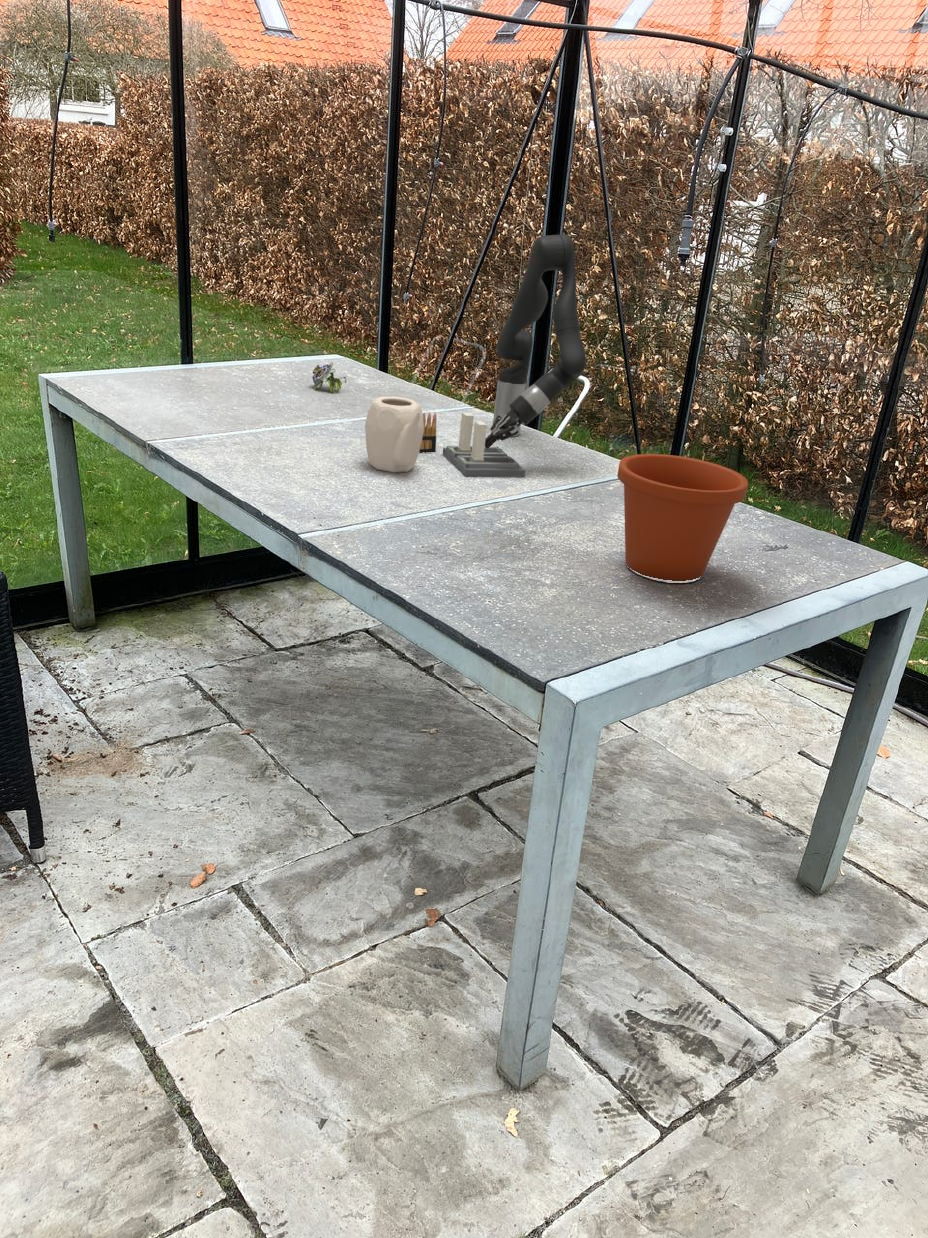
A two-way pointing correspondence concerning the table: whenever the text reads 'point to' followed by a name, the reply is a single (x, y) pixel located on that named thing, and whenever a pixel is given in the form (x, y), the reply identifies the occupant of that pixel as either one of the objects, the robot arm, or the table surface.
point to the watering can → (394, 433)
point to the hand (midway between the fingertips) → (484, 445)
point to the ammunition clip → (429, 435)
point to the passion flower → (326, 377)
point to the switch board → (484, 463)
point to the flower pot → (675, 512)
